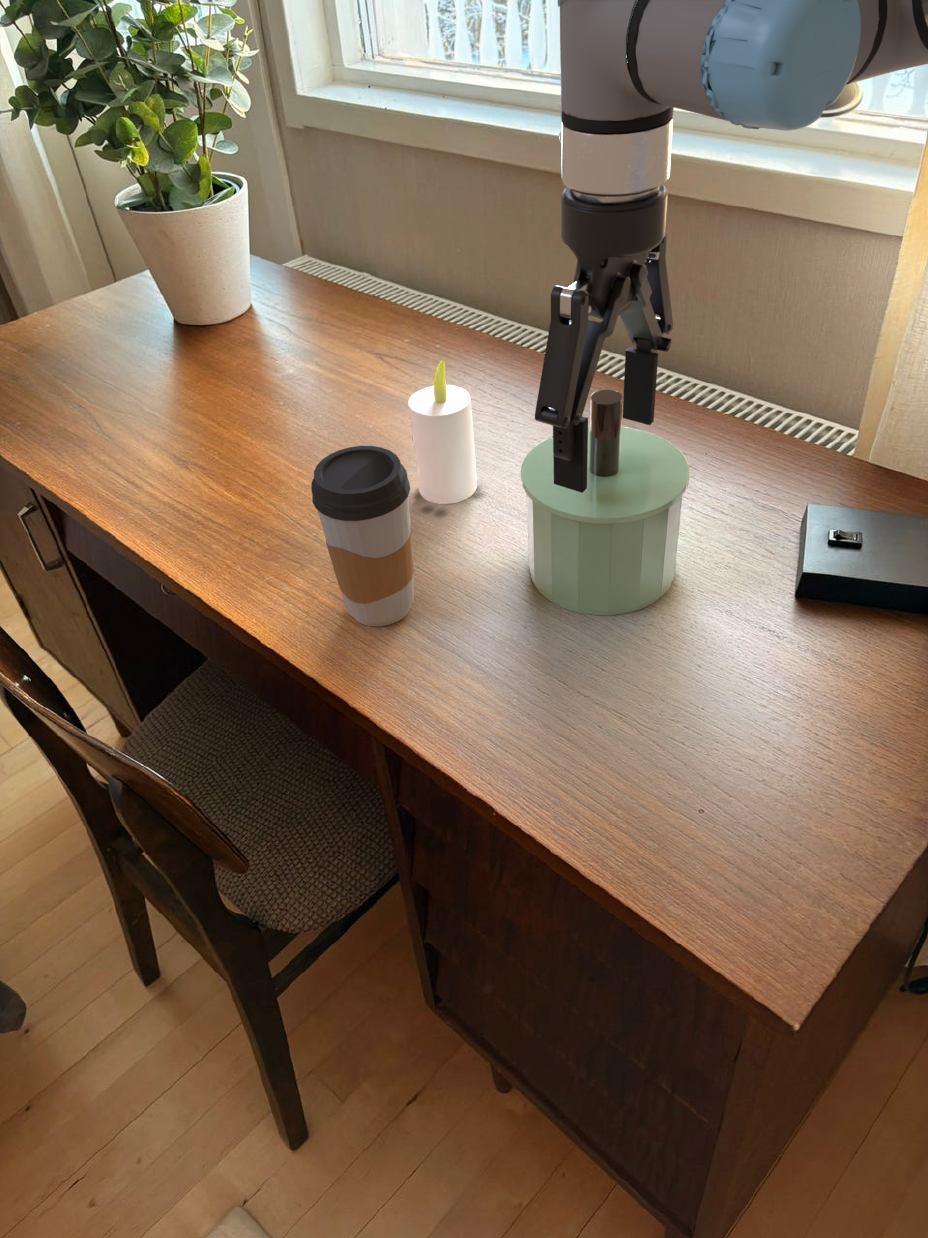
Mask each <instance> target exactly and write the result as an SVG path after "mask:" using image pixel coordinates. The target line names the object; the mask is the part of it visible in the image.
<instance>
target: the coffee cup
mask: <svg viewBox="0 0 928 1238" xmlns="http://www.w3.org/2000/svg"><path fill="white" fill-rule="evenodd" d="M310 484H311V487H310V488H311V494H312V495H311V497H312V498H311V500H312V501H311V502H312V504H313V506H314V508H315V509H316V511H317V514H318V518H319V520H320V524H321V527H322V531H323V534H324V537H325V545H326V548H327V552H328V555H329V557H330V561H331V564H332V565H331V566H332V568H333V571H334V574H335V578H336V582H337V584H338V586H339V590H340V591H341V595H342V598H343V601H344V605H345V608H346V610H347V612H348V614H349V615H350V616H351V617H352V618H353V619H354V620H355V621H356V622H358V623H359V624H362V625H364V626H368V627H384V626H389V625H393V624H395V623H398V622H399V621H401V620H403V619H404V618H405V617H406V616H407V615H408V614H409V612H410V611H411V609H412V607H413V606H414V601H415V585H414V572H415V570H414V554H413V553H414V552H413V535H412V534H413V533H412V525H411V517H410V516H411V515H410V499H409V495H410V492H411V484H410V480H409V477H408V471H407V468H405V467H404V465H403V464H402V463H401V459H400V458H399V457H398V455H397V454H395V453H394V452H393V451H392V450H390V449H387V448H384V447H382V446H376V445H357V446H349V447H345V448H342V449H339V450H336V451H333V452H331V453H329V454H328V455H326V456H325V457H324V458H322V459H321V460H320V461H319V462H318V463H317V464H316V466H315V467H314V470H313V478H312V481H311V483H310Z"/></svg>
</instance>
